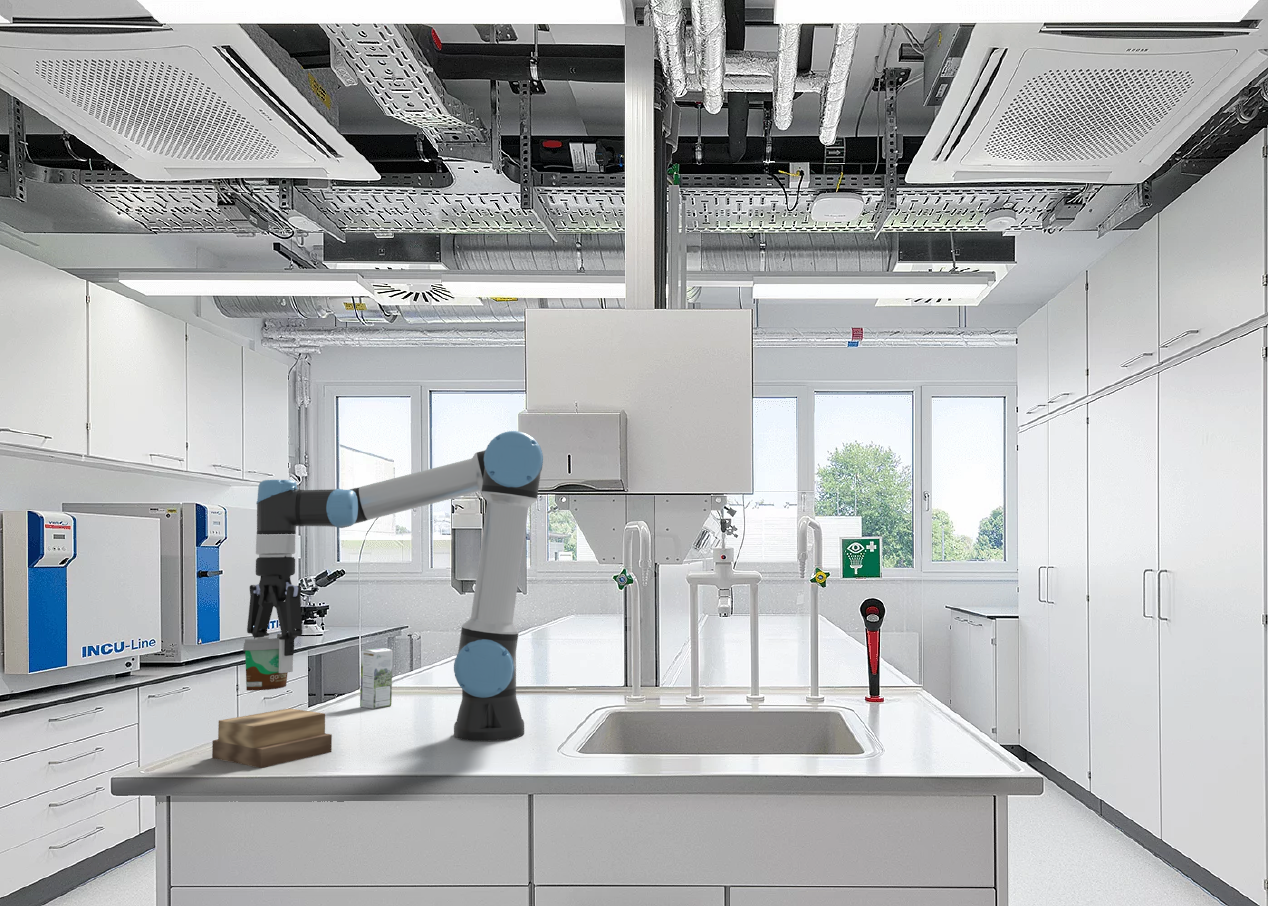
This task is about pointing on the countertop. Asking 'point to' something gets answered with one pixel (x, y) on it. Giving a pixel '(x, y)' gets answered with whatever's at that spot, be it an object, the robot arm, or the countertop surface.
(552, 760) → the countertop surface
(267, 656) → the food container
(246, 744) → the tower top
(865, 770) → the countertop surface
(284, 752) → the tower base
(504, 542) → the robot arm
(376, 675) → the syrup box
